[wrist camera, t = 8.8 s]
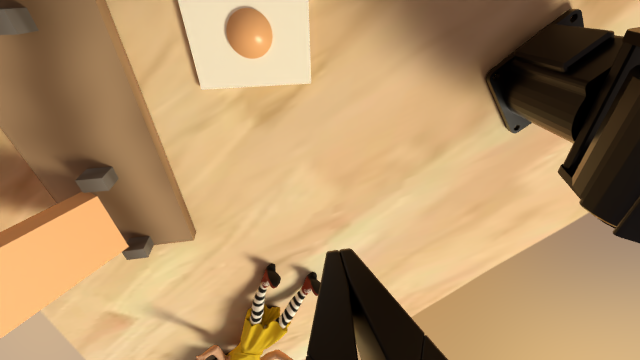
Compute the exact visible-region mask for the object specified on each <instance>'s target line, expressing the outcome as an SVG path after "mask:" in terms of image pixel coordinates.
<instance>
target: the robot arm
mask: <svg viewBox="0 0 640 360" xmlns="http://www.w3.org/2000/svg"><path fill="white" fill-rule="evenodd" d="M571 17H572V18H571ZM570 18H571V20H570ZM495 74H496V76H495V78H493V76H494V75H495ZM486 81H487V83H488V85H489V88H490V90H491V92H492V95H493V97H494V99H495V101H496V104H497V106H498V108H499V111H500V113H501V115H502V117H503V120H504V122H505V124H506V127H507V129H508V130H509V131H510V132H512V133H517V132H519V131H520V130H522V129H523V128H525V127H526V126H528V125H529V124H531V123H534V124H536V125H538V126H540V127H542V128H544V129H546V130H548V131H550V132H552V133H554V134H556V135H558V136H560V137H562V138H564V139H566V140H568V141H570V142H572V143H574V144H573V146H572V148H571V150H570V152H569V154H568V156H567V158H566V160H565V162H564V164H562V165H561V166H560V168H559V170H558V173H559V175H560V176H561V177H562V178H563V179H564V180H565V182H566V183H567V184H568V185H569V186H570V188H571V189H572V190H573V191H574V192H575V193H576V195H577V196H578V197H579V198H580V199H581V200H580V205H581V206H582V207H583V208H584V209H586V210H587V211H588V212H590V213H591V214H592V215H594V216H595V217H597V218H598V219H600V220H601V221H602V222H604V223H605V224H607V225H609V226H611V227H613V228H615V230H614V231H613V234H614V235H616V236H618V237H621V238H624V239H628V240H631V241H635V242H638V243H640V27H638V28H632V29H627V31H626V33H625V35H624V37H623V36H615V35H614V32H613V31H608V30H600V29H591V28H584V24H583V18H582V12H581V10H579V9H570V10H568V11H567V12H565V13H564V14H563V15H562V16H560V17H559V18H558V19H556V20H555V21H554V22H552V23H551V24H549V25H548V26H547V27H545V28H544V29H543V30H541V31H540V32H539V33H538V34H536V35H535V36H534V37H532V38H531V39H530V40H529V41H527V42H526V43H525V44H523V45H522V46H521V47H519V48H518V49H517V50H516V51H515V52H514V53H512V54H511V55H510V56H508V57H507V58H506V59H504V60H503V61H502V62H501V63H499V64H498V65H497V66H495V67H494V68H493V69H492V70H490V71H489V72H488V74H487V76H486ZM515 126H516V127H515ZM356 344H357V348H358V351H359V354H360V357H361V360H448V359H447V358H446V357H445V356H444V355H443V353H442V352H441V351H440V350H439V349H438V348H437V347H436V346H435V345H434V343H433V342H432V341H431V340H430V339H429V338H428V337H427V335H425V336H424V332H423V331H422V330H421V329H420V327H419V326H418V325H417V324H416V323H415V322H414V321H413V319H412V318H411V317H410V316H409V315H408V313H407V312H406V311H405V310H404V309H403V308H402V307H401V305H400V304H399V303H398V302H397V301H396V300H395V298H394V297H393V296H392V295H391V294H390V293H389V292H388V290H387V289H386V288H385V287H384V286H383V285H382V283H381V282H380V281H379V280H378V279H377V278H376V277H375V275H374V274H373V273H372V272H371V271H370V270H369V268H368V267H367V266H366V265H365V264H364V263H363V262H362V260H361V259H360V258H359V257H358V256H357V255H356V253H355V252H354V251H353V250H352V249H350V248H348V249H341V250H340V251H338V250H334V251H328V252H327V253H326V258H325V263H324V269H323V274H322V279H321V284H320V289H319V294H318V299H317V304H316V310H315V315H314V320H313V325H312V330H311V335H310V340H309V345H308V351H307V356H306V360H358V356H357V348H356Z"/></svg>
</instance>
